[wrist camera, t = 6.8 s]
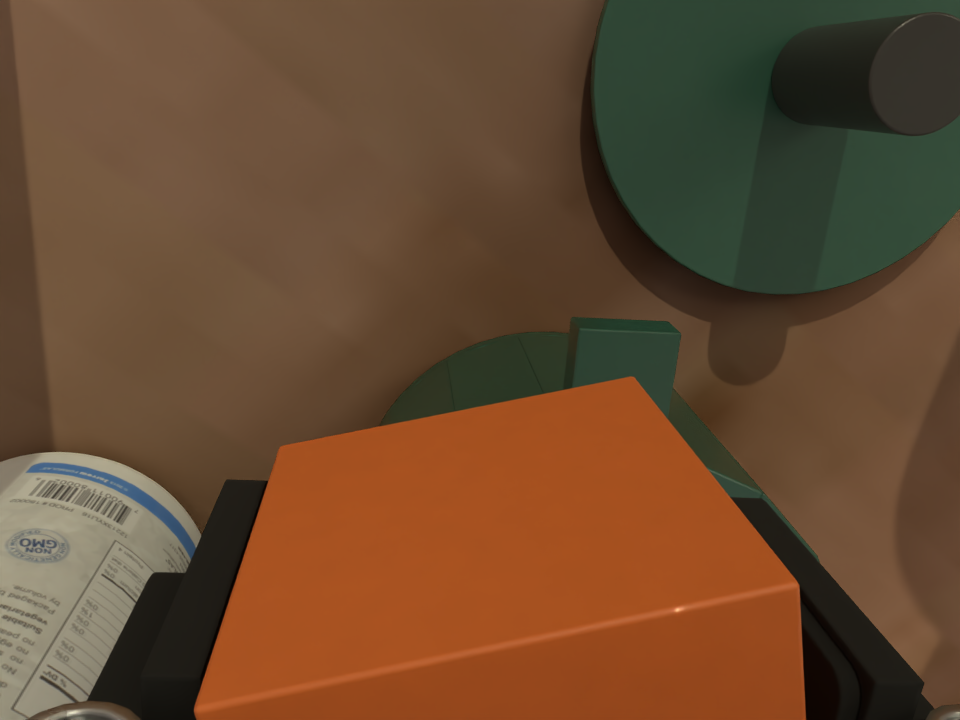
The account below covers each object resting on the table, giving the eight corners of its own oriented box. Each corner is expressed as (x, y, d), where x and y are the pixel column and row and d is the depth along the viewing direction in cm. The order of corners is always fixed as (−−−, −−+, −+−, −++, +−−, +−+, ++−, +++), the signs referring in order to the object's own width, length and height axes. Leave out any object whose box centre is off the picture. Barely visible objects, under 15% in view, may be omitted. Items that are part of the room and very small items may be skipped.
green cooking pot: (743, 262, 27) (909, 352, 18) (666, 696, 33) (763, 924, 24) (366, 242, 26) (348, 327, 17) (353, 698, 32) (334, 940, 23)
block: (634, 374, 11) (802, 583, 7) (668, 662, 13) (821, 994, 8) (278, 444, 11) (190, 710, 6) (359, 728, 13) (335, 1105, 8)
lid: (1062, -149, 24) (1291, -228, 18) (945, 296, 28) (1096, 357, 22) (615, -201, 23) (695, -307, 16) (563, 276, 27) (611, 336, 21)
